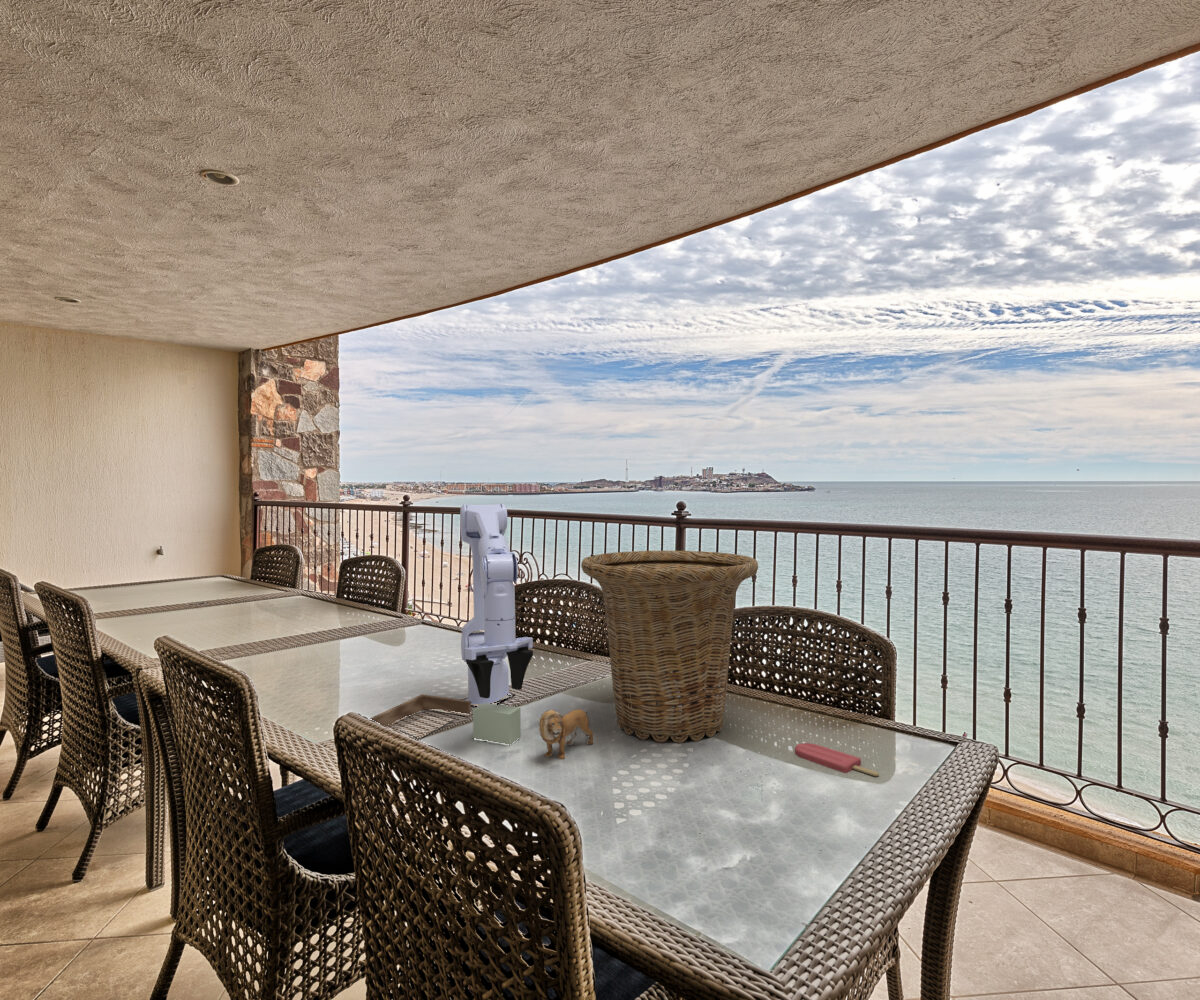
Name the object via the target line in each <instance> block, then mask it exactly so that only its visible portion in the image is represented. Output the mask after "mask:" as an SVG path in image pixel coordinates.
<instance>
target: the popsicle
mask: <svg viewBox="0 0 1200 1000" xmlns="http://www.w3.org/2000/svg"><path fill="white" fill-rule="evenodd" d="M794 752H795V753H794V754H795V755H796V756H798V757H799V758H801V759H804V760H807V761H808V762H812V763H815V764H818V765H821V766H824V767H826V768H829V769H832V770H835V771H838V772H840V773H844V774H847V773H849V772H851V771H853V770H856V771H858V772H861V773H863V774H864V773H865V774H867V775H870V776H872V777H873V776H874V777H878V776H879V772H877V771H874V770H872V769H869V768H865V767H864V766H863V767H862V766H861V765H862V759H861V758H860V757H857V756H855V755H852V754H851V755H850V754H848V753H845V752H842V751H839V750H835V749H831V748H829V747H825V746H822V745H818V744H815V743H808V742H802V743H798V744H796V745H795V747H794Z"/></svg>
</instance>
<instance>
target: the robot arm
mask: <svg viewBox="0 0 1200 1000" xmlns="http://www.w3.org/2000/svg"><path fill="white" fill-rule="evenodd" d="M459 512H460V513H459V522H460V523H459V525H460V537H461V541H462V542H464V543H466V544H468V545H469V546H470V551H471V554H472V555H471V556H472V586H473V587H472V588H473V589H472V593H473V594H472V595H473V596H472V598H473V617H472V618H471V619H470V620H469V621H467V622H466V623H465V624H464V625H463V626H462V629H461V640H460V653H461V659H462V661H463V662H465V664H466V665H467V684H468V686H467V688H468V689H467V693H468V695H467V696H468V697H467V698H465V699H464V700H467V701H471V704H483V703H494V702H497V701H499V700H500V699H501V698H502V697H504V696H505V695H507V694H508V695H511V694H512V693H510V691H509V689H510V687H509V686H510V685H509V682H510V684H511V689H512V690H513V689H514V690H517V691H522V688H523V685H524V679H525V675H526V672H527V669H528V667H529V664H530V662H531V659H532V658H533V656H534V650H533V647H534V643H533V642H534V641H533V640H534V639H533V637H528V636H523V637H517V638H516V596H515V595H516V594H515V588H516V587H515V584H517V581H518V576H519V567H518V565H519V564H518V560H517V554H516V553H515V552H514V551H510V548H509V547H510V546H509V544H508V541H507V538H506V537H505V534H506V530H507V528H508V510H507V506H506V505H505V503H500V504H494V503H493V504H492V503H491V504H490V503H489V504H465V503H463V504H462V505H461V506H460V511H459ZM506 658H507V659H508V664H507V661H505V659H506ZM508 665H509V667H508ZM509 670H510V671H509ZM509 672H510V681H509ZM506 697H507V696H506Z"/></svg>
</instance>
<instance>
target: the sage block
mask: <svg viewBox="0 0 1200 1000" xmlns="http://www.w3.org/2000/svg"><path fill="white" fill-rule="evenodd" d="M521 716H522V715H521V707H520V706H519V707H518V706H511V705H504V704H503V705H502V704H498V705H497V704H490V703H483V704H481V705H479V706H477V707H474V708H472V739H473V738H476V739H482V740H488V741H493V742H499V743H505V744H509V745H510V744H512V743H513V742H514V741H516V740H517V739H518V738H520V737H521V738H522V734H521V733H522V731H521V729H522V728H521V725H522V724H521V723H522V722H521V720H522V719H521Z"/></svg>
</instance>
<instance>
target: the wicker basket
mask: <svg viewBox="0 0 1200 1000" xmlns="http://www.w3.org/2000/svg"><path fill="white" fill-rule="evenodd" d="M580 564H581V566H580V567H581V570H582V572H583V573H584V574H585V575H586V576H588V577H590V578H592V579H594V580H596V582H597V583H598V584H599V586H600V588H601V591H602V595H603V601H604V609H605V618H606V619H605V620H606V630H607V640H608V651H609V660H610V671H611V680H612V682H611V683H612V690H613V691H612V692H613V699H614V700H613V701H614V707H615V715H616V722H617V726H618V728H619V729H620V730H622V729H623V730H624V733H626V734H627V735H629V736H630V735H633V734H634V733H635V735H636V737H637V738H639V739H640V740H647V739H648V738H650V735H651V737H652V739H653V740H654V741H655V742H657V743H665V742H666V741H668V739H669V738H671V740H672V741H673V742H674V743H677V744H682V743H684V742H685V741H687V740H688V737H689V738H690V739H691V740H692V741H694V742H699V741H701V740H703V738H704V736H707V737H708V738H712V737H714V736H715V734H716V732H721V730H722V729H723V724H724V715H725V709H726V708H725V706H726V697H727V687H728V677H729V675H728V674H729V667H730V666H729V664H730V655H731V654H730V653H731V642H732V632H733V631H732V630H733V621H734V610H735V599H736V596H737V595H736V594H737V591H738V589H739V587H740V585H741V584H742V583H743V582H744V581H745V580H747V579H750V578H752V577H753V576H754V575H756V574H757V572H758V570H759V562H758V560H756V559H755V558H753V557H750V556H747V555H743V554H736V553H735V554H734V553H729V552H718V551H696V550H635V551H632V550H631V551H619V552H608V553H606V552H605V553H600V554H599V553H598V554H594V555H590V556H587V557H584V558H583V559H582V561H581V563H580Z"/></svg>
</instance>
